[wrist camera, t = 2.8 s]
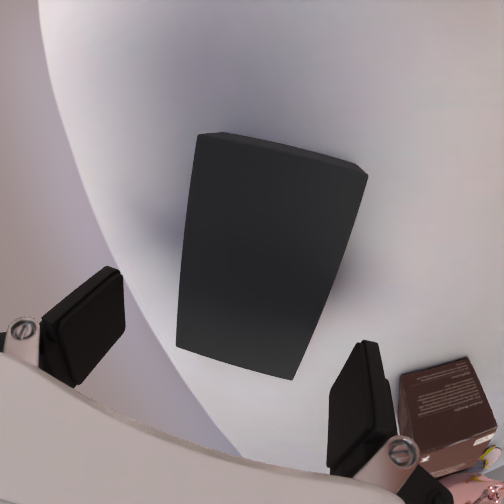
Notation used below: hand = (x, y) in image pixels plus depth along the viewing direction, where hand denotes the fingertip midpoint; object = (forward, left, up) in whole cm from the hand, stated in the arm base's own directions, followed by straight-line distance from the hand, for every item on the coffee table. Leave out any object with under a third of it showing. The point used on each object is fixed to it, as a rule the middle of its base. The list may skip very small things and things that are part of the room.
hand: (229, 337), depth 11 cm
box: (+8, +16, -7) cm, 19 cm away
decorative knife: (+18, +38, -7) cm, 43 cm away
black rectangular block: (0, 0, -7) cm, 7 cm away
